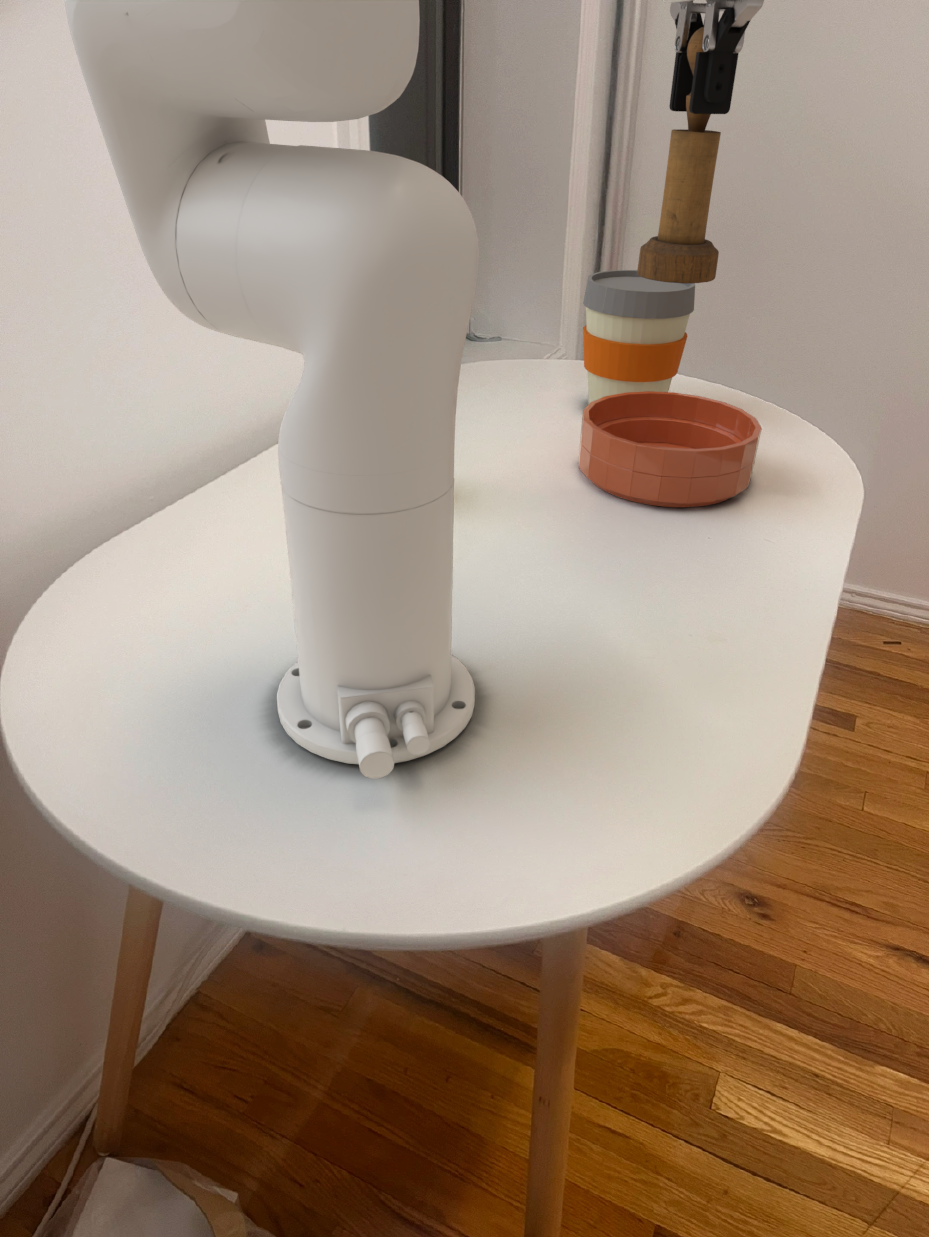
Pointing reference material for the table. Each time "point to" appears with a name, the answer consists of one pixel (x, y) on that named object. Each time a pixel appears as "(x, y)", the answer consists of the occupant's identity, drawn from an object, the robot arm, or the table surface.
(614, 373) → the reusable coffee cup
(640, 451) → the bowl
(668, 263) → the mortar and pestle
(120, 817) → the table surface
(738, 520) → the table surface
